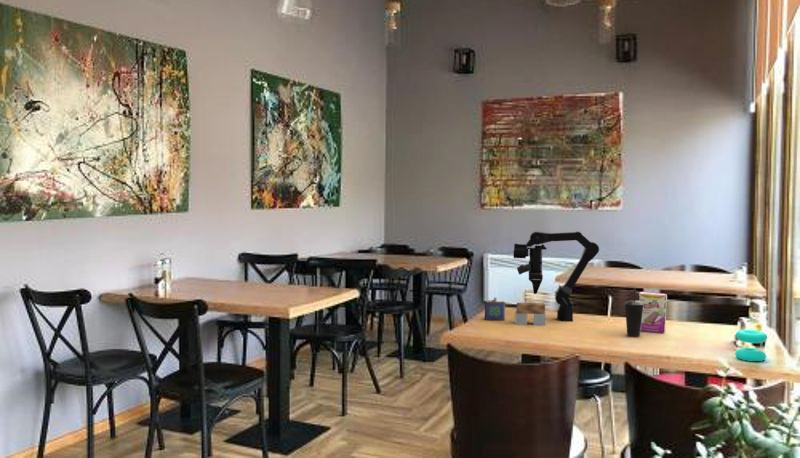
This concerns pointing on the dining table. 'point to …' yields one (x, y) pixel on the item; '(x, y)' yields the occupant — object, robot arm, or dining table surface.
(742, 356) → the teal stacked rounded discs
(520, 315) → the tilted pale grey prism
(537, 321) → the pillar
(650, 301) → the candy bar box
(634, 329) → the drinking cup
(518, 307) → the lintel
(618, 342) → the dining table surface
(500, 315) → the flask
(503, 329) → the dining table surface
